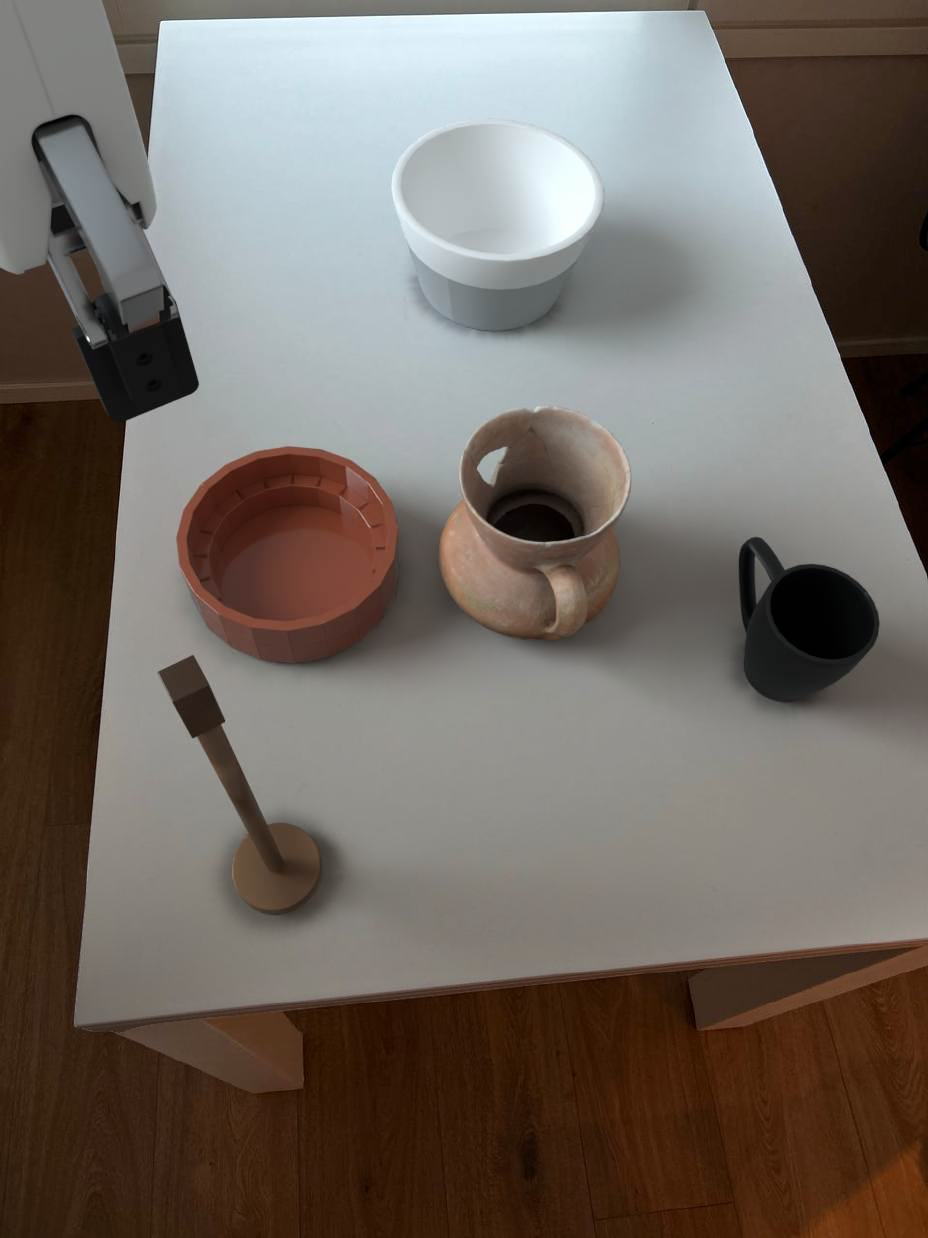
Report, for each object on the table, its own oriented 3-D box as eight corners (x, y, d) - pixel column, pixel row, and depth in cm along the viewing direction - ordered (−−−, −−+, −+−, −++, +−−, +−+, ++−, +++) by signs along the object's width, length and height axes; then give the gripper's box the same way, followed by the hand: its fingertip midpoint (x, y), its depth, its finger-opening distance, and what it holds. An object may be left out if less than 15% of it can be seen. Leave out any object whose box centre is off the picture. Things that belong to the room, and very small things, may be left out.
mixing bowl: (247, 702, 73) (235, 667, 68) (160, 542, 80) (142, 499, 74) (435, 606, 78) (437, 567, 73) (338, 462, 84) (333, 417, 79)
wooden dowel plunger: (258, 932, 65) (142, 774, 37) (221, 856, 68) (84, 654, 40) (337, 886, 67) (282, 702, 39) (297, 813, 69) (219, 590, 41)
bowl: (621, 316, 94) (644, 225, 85) (443, 375, 90) (446, 285, 80) (531, 194, 102) (543, 97, 93) (363, 242, 98) (357, 146, 88)
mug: (762, 574, 81) (802, 508, 73) (850, 692, 76) (904, 636, 68) (680, 610, 79) (712, 547, 70) (765, 734, 74) (810, 682, 66)
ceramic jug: (422, 502, 83) (423, 389, 70) (585, 482, 85) (615, 368, 72) (460, 692, 74) (469, 602, 62) (640, 665, 76) (684, 572, 64)
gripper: (-416, -434, 22) (-80, 203, 37) (-222, -66, 16) (91, 528, 31) (-85, -475, 24) (106, 143, 39) (209, -167, 18) (303, 435, 33)
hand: (99, 311), depth 35 cm, fingers open, 9 cm apart
